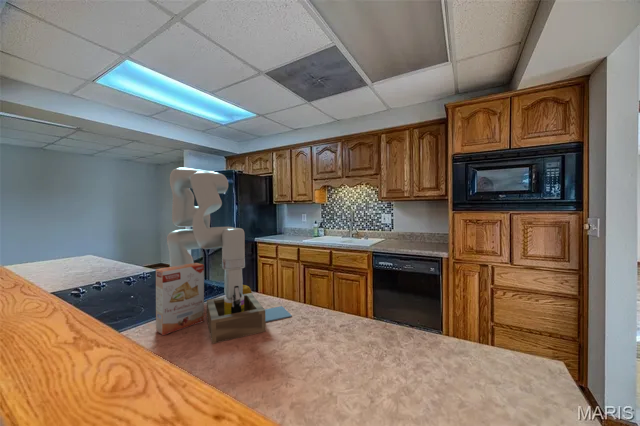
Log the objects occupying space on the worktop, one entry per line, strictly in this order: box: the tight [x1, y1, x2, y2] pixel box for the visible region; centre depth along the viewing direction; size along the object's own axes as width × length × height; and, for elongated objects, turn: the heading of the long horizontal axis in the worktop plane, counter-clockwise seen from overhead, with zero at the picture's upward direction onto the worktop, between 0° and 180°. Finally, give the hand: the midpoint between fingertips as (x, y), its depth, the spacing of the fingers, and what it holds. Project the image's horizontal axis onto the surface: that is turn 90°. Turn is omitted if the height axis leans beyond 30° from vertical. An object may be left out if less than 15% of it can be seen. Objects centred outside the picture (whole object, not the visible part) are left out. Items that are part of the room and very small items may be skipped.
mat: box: [264, 305, 293, 323], centre depth 99 cm, size 11×11×1 cm
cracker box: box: [155, 262, 205, 336], centre depth 90 cm, size 14×6×21 cm, turn 143°
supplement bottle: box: [224, 295, 244, 315], centre depth 90 cm, size 7×7×13 cm
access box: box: [206, 292, 267, 344], centre depth 90 cm, size 20×16×7 cm
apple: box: [243, 284, 253, 294], centre depth 108 cm, size 9×8×9 cm
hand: (234, 314), depth 90 cm, fingers closed on supplement bottle, 6 cm apart
